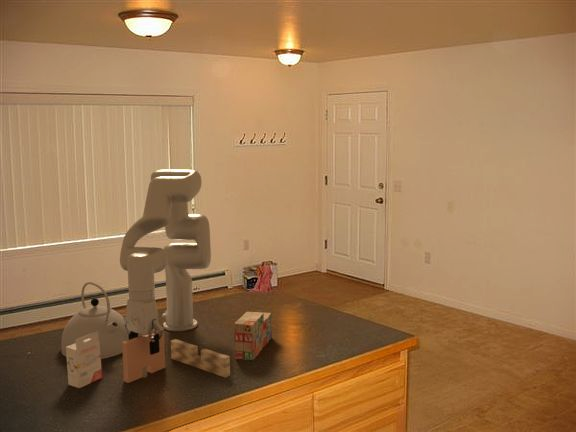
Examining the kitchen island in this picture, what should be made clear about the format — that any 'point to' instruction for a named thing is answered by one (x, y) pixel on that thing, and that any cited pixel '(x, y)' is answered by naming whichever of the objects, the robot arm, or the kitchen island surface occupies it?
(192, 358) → the oak notched board
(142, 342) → the terracotta slotted plate
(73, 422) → the kitchen island surface
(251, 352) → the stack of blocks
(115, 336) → the kettle
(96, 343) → the ink cartridge box
